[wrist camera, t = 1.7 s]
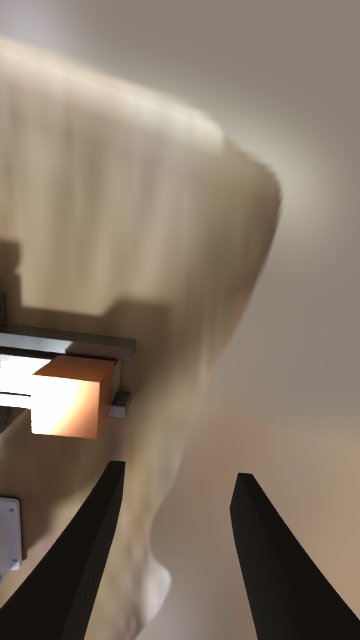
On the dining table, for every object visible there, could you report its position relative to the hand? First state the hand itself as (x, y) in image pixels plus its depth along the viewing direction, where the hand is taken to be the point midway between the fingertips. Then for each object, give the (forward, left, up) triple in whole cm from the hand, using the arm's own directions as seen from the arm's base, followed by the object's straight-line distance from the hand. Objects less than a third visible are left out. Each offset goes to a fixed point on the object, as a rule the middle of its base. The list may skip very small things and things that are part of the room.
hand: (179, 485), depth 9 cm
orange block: (0, +11, -9) cm, 14 cm away
